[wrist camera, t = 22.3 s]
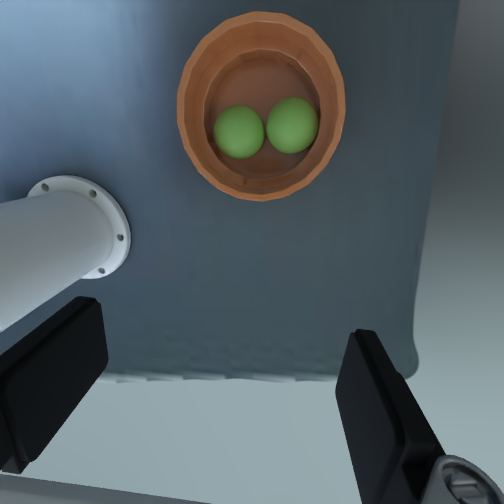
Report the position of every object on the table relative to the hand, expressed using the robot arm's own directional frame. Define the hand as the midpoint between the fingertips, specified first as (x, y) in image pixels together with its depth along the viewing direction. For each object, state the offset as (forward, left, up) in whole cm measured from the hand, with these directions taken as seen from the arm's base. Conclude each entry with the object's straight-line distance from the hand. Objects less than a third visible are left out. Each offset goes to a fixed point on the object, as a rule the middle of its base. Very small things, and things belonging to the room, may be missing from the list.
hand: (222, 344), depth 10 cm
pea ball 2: (+2, +9, -19) cm, 21 cm away
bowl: (-1, +9, -22) cm, 23 cm away
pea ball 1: (-3, +8, -19) cm, 20 cm away
